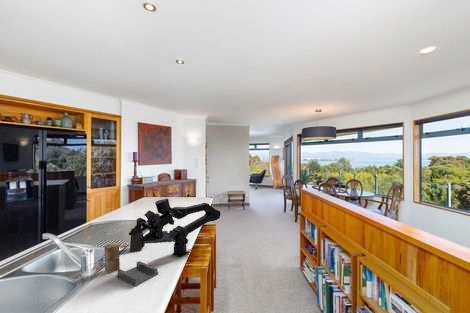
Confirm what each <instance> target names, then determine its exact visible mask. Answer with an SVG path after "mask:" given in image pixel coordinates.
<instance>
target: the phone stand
mask: <svg viewBox="0 0 470 313" xmlns="http://www.w3.org/2000/svg"><path fill="white" fill-rule="evenodd" d="M132 229H133V228H131V229H130V231H131V230H132ZM143 236H144V231H142V232H140V233H137V234H133V235H130V242H129V253H134V252H142V250H143V249H144V247H145V244H144V241H143V242H139V239H141V238H142V237H143Z"/></svg>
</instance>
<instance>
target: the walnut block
mask: <svg viewBox="0 0 470 313" xmlns="http://www.w3.org/2000/svg"><path fill="white" fill-rule="evenodd" d="M103 250H104V271H105V272H106V273H107V274H112V273H115V272H117V271H118V270H120V269H121V268H120V267H121V264H120V245H119V244H118V243H116V242H113V243H109V244H105V245H104V249H103Z"/></svg>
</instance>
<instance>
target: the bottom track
mask: <svg viewBox="0 0 470 313" xmlns="http://www.w3.org/2000/svg"><path fill="white" fill-rule="evenodd" d="M135 264H136V266H135V267H132V268H129V269H128V270H126V271H125V270H123V269H121V268H120V270H118V271H116V272H117V274H116V279H118V280H119V281H120V280H121V281H122V282H124V283H126V284H128V285H130V286H132V287H137V286H140V285H141V284H143V283H145V282H147V281H148V280H151V279H152V278H155V277H156V276H158V275H159V271H158V268H157V267H155V266H152V265H150V264H147V263H144V262H142V261H137V262H136V263H135Z"/></svg>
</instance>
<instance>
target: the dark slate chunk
mask: <svg viewBox="0 0 470 313" xmlns="http://www.w3.org/2000/svg"><path fill="white" fill-rule="evenodd" d="M172 230H173V229H172ZM172 230H171V229H170V230H169V232H168V230H162V231H163V235H164V236H163V238H162V239H161V240H160V241H159V240H152V241H144V244H158V243H160V244H161V243H174V242H173V240H172V239H170V236H169V235H170V232H171V231H172ZM146 234H147V233H145V234H144V236H145V235H146Z"/></svg>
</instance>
